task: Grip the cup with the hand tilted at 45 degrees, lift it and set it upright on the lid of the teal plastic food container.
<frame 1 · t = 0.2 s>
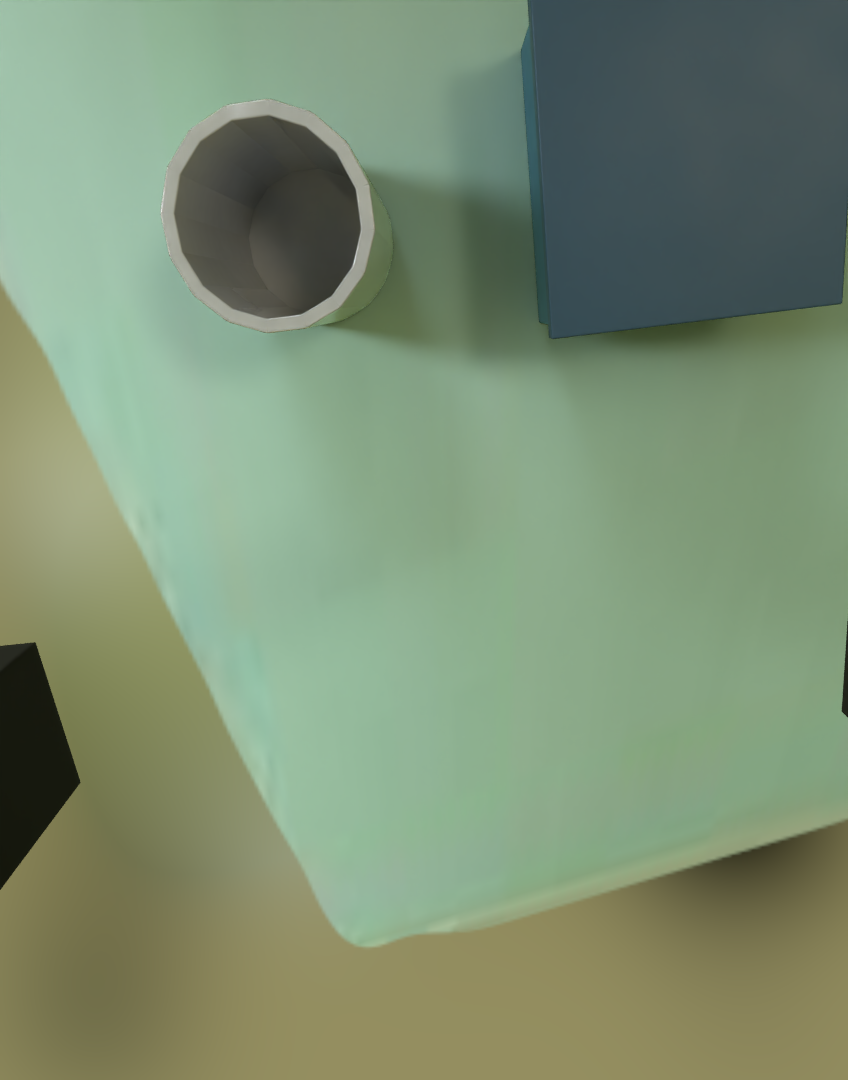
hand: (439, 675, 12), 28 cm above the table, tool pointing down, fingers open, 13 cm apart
cup: (318, 244, 36), on the table
container: (646, 177, 34), on the table
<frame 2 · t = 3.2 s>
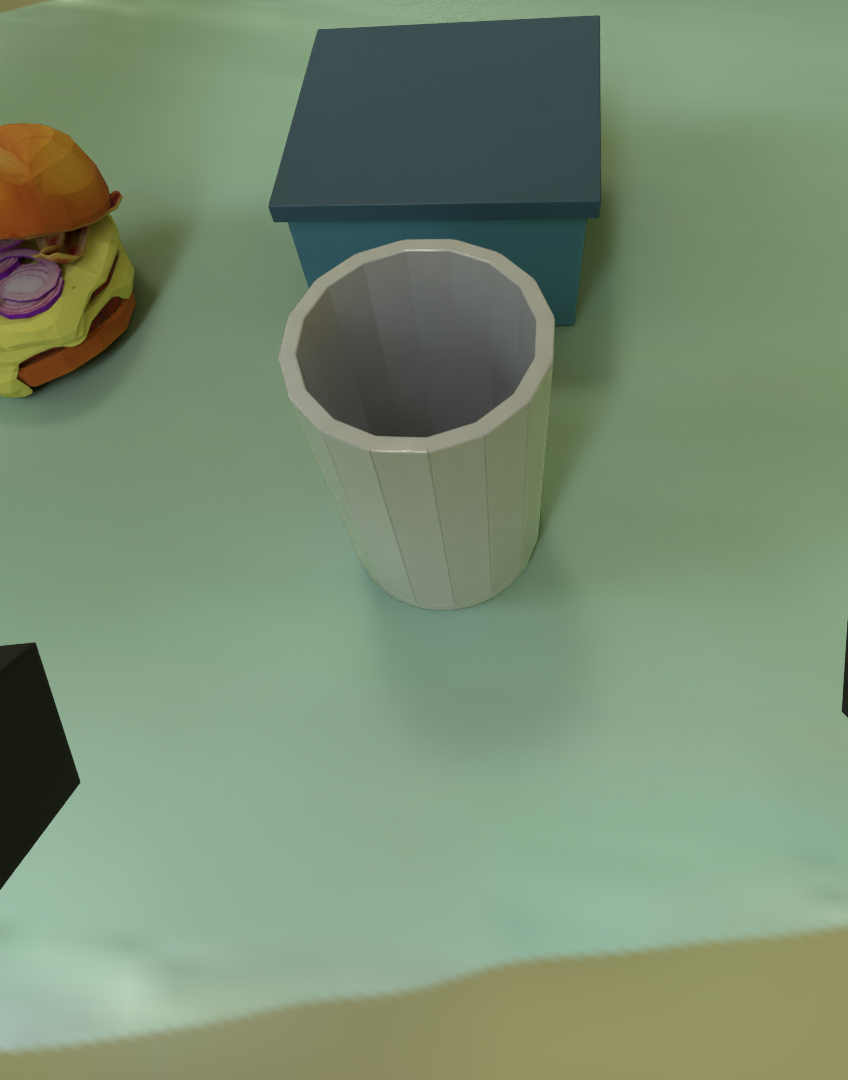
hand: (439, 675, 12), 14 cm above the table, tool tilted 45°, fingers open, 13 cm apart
cup: (445, 524, 29), on the table
container: (453, 241, 36), on the table
cheeseburger: (57, 318, 37), on the table
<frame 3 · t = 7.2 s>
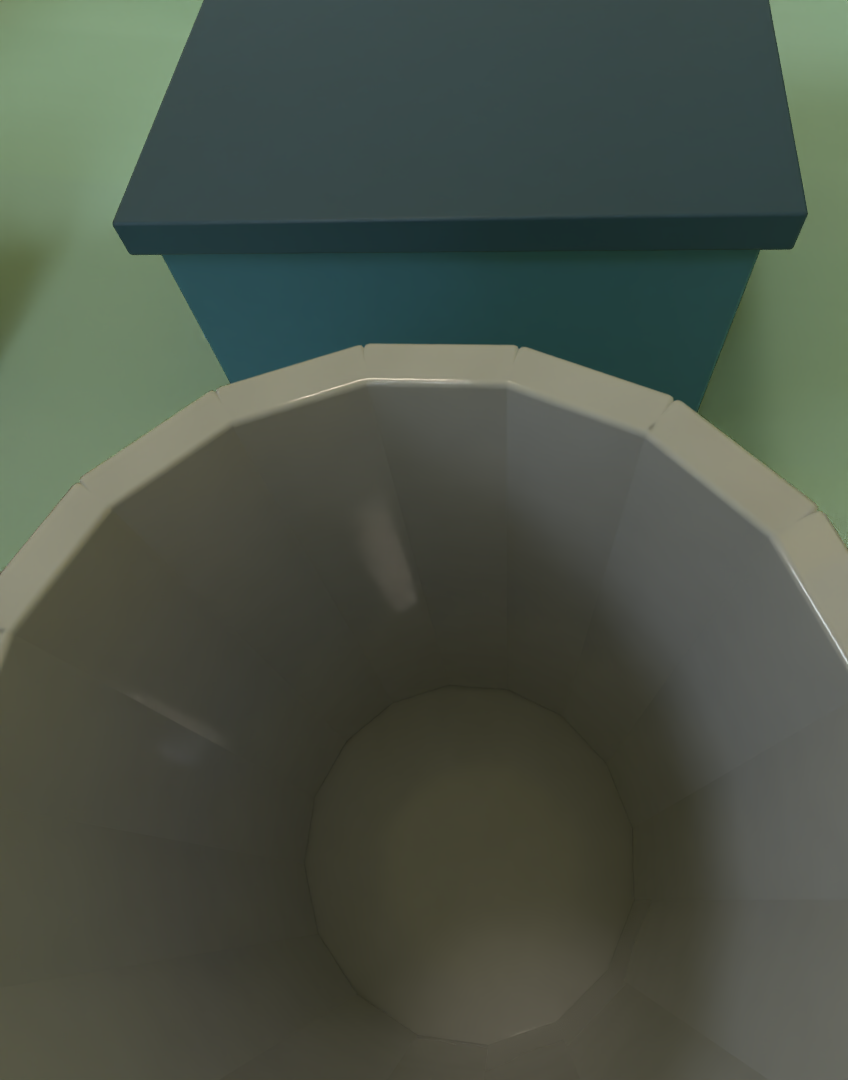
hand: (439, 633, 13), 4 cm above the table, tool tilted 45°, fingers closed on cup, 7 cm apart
cup: (468, 848, 15), on the table, touching gripper
container: (475, 275, 22), on the table
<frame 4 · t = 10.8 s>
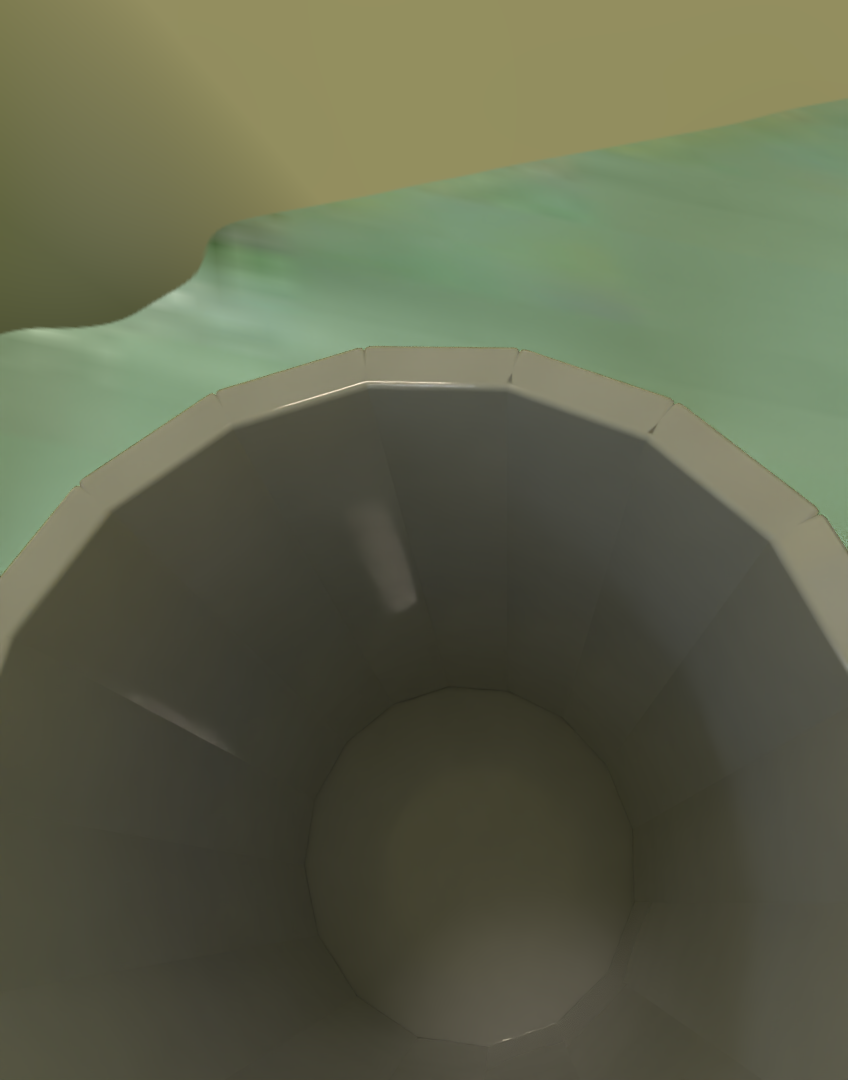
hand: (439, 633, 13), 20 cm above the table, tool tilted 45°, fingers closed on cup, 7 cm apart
cup: (468, 850, 15), point 16 cm above the table, touching gripper
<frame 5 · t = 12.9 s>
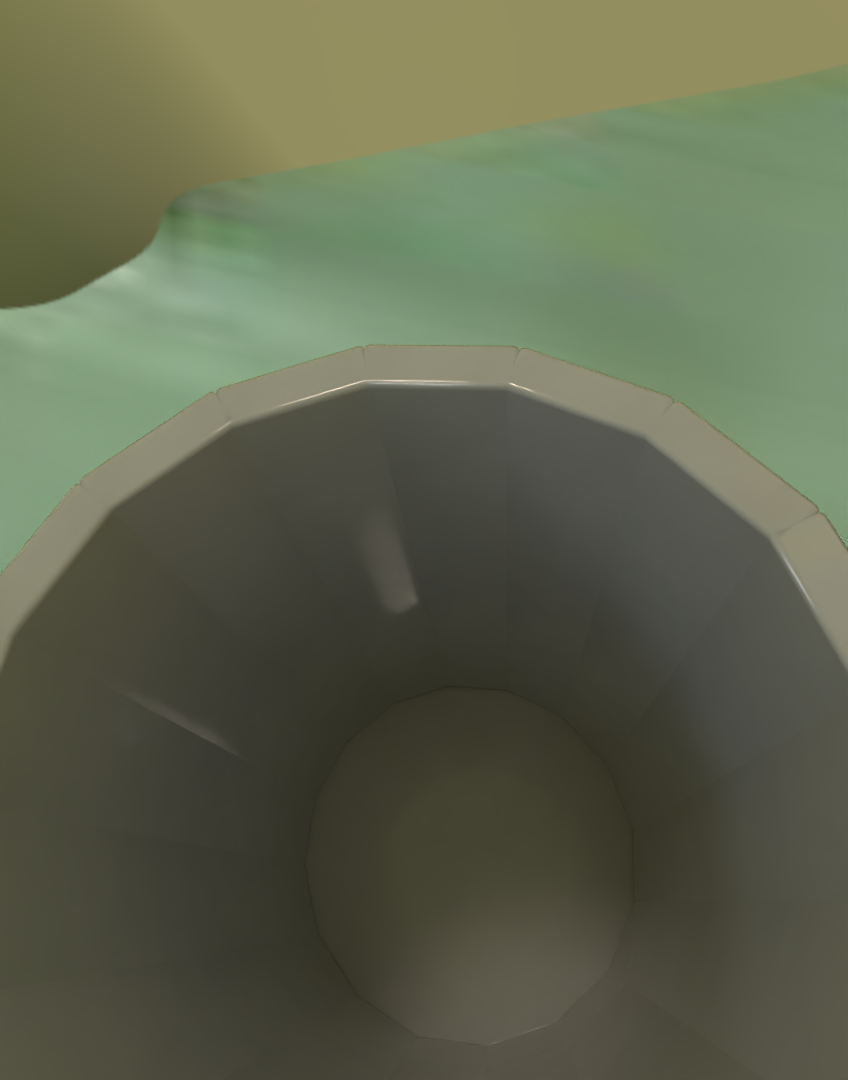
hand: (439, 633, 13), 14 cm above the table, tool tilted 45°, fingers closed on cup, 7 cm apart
cup: (468, 849, 15), point 10 cm above the table, touching gripper
when the fingers open (11 cm above the table, at t = 14.3 s): cup stays where it is, resting on container.
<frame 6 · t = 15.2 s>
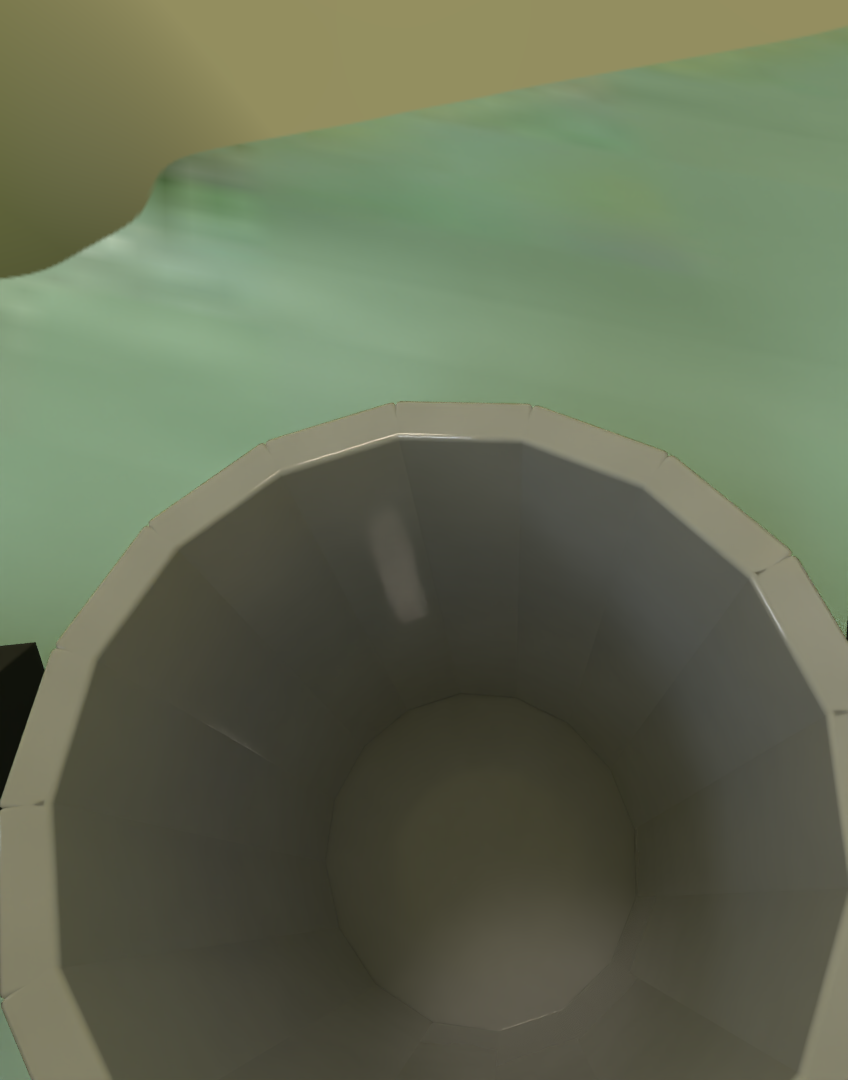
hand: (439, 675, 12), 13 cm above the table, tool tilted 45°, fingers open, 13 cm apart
cup: (479, 848, 16), point 7 cm above the table, touching container
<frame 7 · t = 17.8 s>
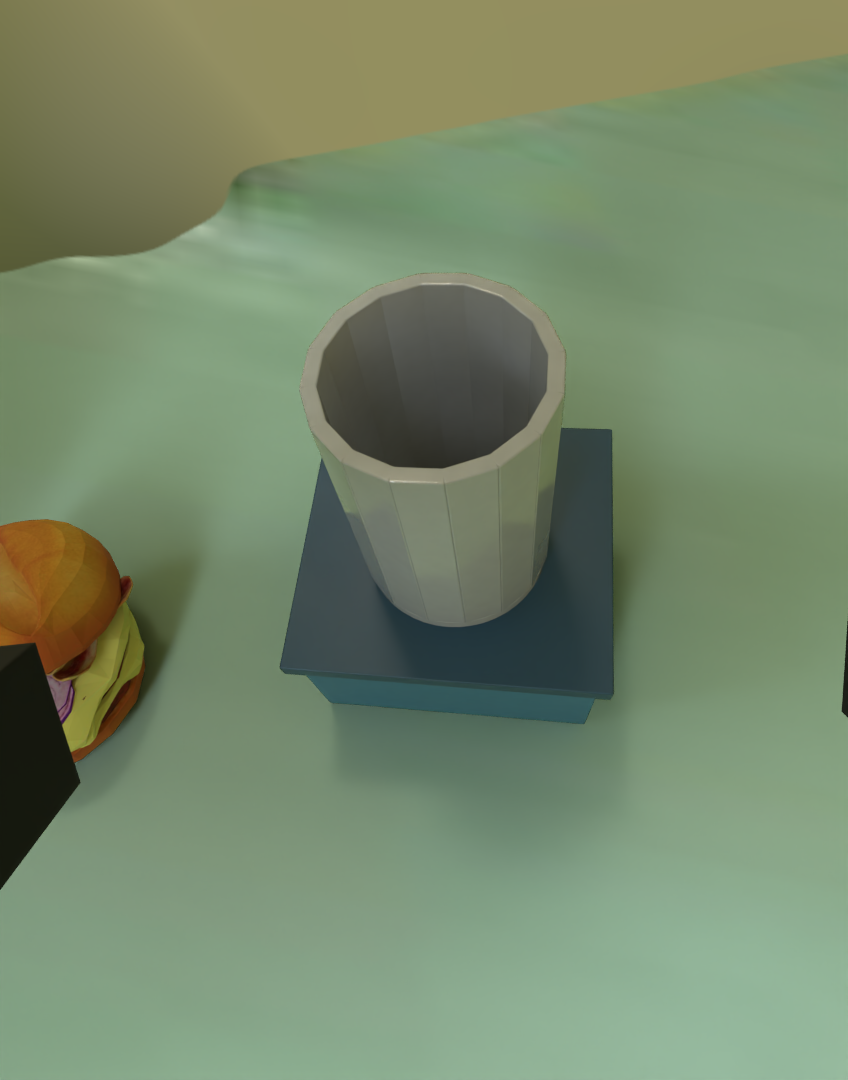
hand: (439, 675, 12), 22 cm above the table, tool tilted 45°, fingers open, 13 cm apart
cup: (456, 543, 30), point 7 cm above the table, touching container
container: (464, 603, 36), on the table
cheeseburger: (66, 671, 37), on the table
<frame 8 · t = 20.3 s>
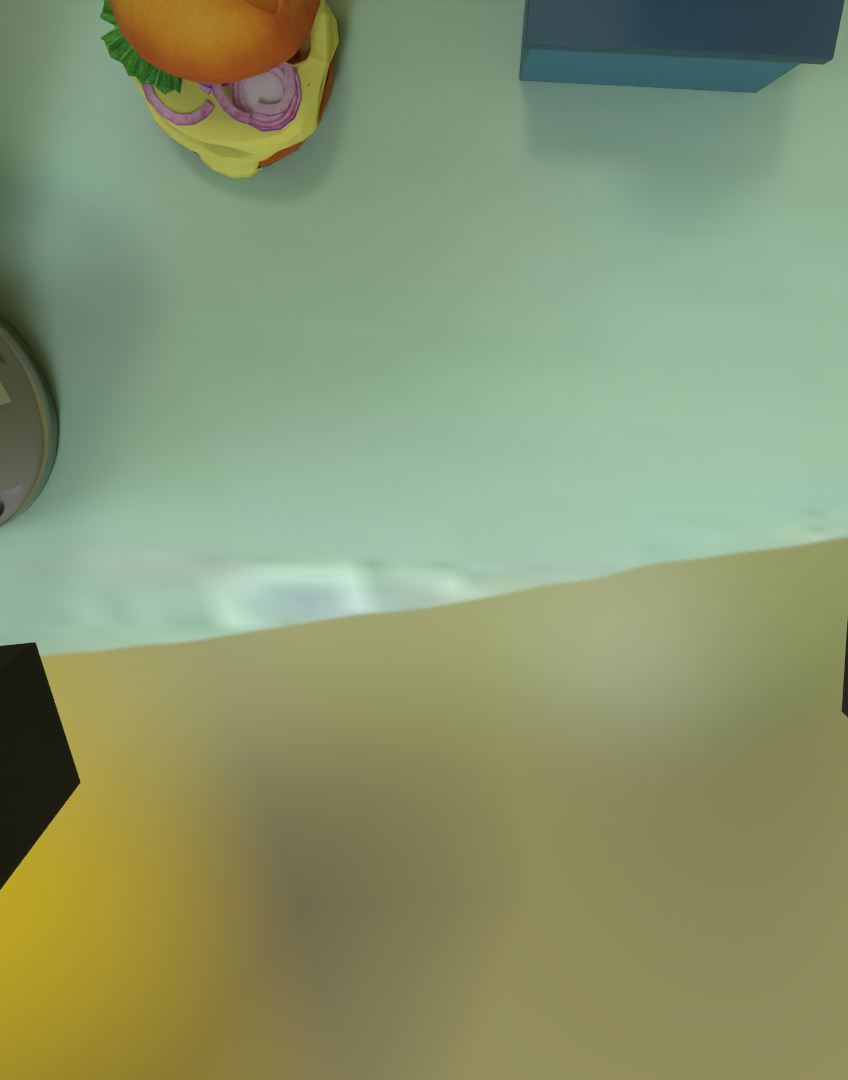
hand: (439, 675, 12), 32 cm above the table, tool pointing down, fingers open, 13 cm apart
cheeseburger: (243, 56, 37), on the table
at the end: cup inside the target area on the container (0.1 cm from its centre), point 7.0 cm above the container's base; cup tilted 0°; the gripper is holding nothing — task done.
